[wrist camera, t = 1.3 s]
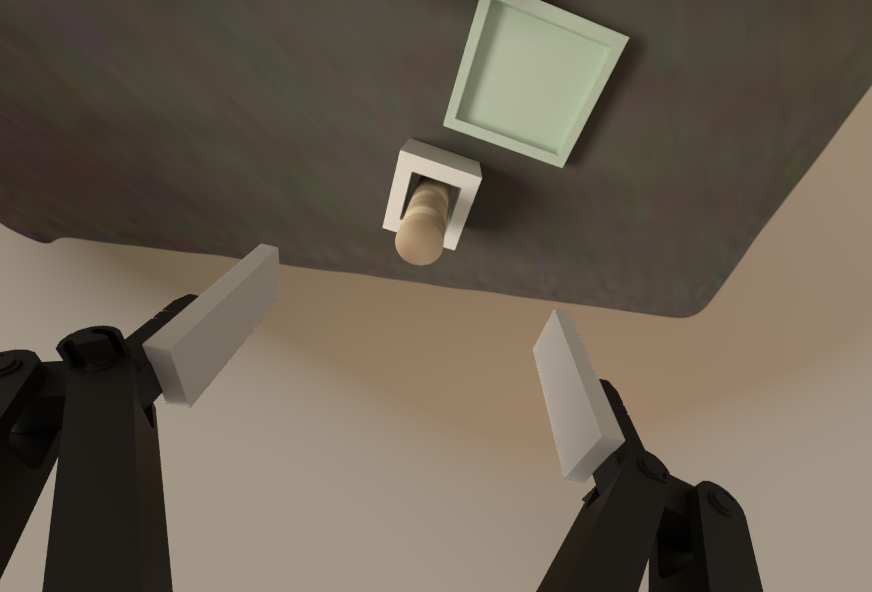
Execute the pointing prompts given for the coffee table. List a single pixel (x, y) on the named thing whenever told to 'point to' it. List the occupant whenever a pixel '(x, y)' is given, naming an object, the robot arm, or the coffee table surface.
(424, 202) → the dowel
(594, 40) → the tray
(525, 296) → the coffee table surface
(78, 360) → the robot arm
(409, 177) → the hollow block
